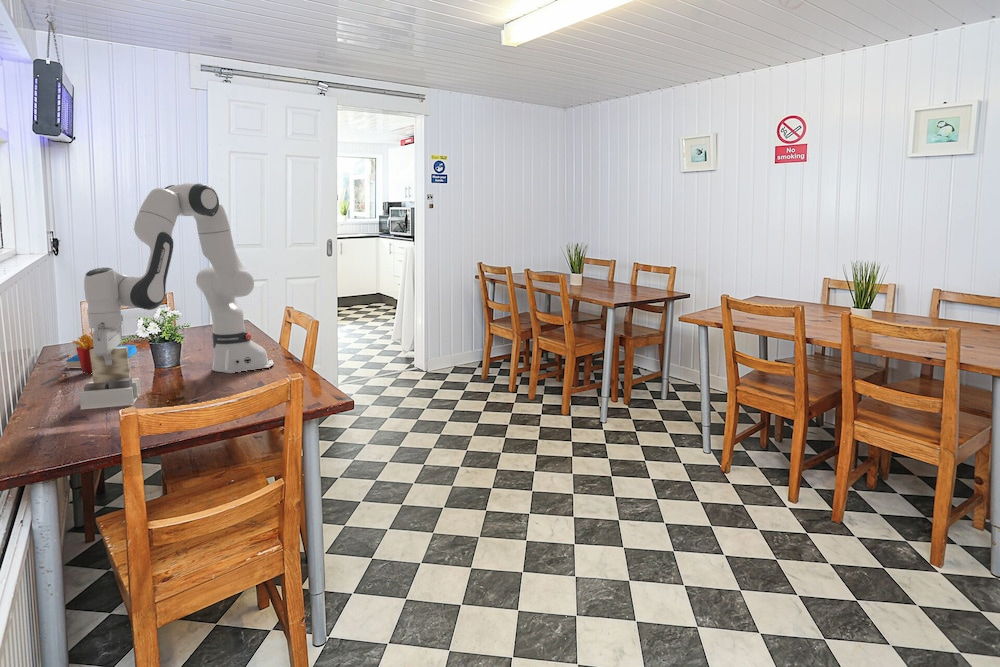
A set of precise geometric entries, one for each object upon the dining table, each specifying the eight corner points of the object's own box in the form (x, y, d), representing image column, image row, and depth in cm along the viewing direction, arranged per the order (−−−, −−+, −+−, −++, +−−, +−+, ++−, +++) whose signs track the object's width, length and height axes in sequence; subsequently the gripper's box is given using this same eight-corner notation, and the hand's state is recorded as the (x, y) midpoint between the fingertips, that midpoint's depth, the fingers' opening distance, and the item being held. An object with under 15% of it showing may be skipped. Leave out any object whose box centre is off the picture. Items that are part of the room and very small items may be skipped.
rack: (141, 396, 205) (139, 377, 204) (133, 409, 192) (131, 389, 191) (92, 400, 201) (89, 381, 199) (80, 414, 188) (77, 393, 186)
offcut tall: (134, 398, 198) (131, 377, 197) (131, 402, 195) (129, 380, 193) (113, 400, 196) (111, 378, 195) (110, 403, 193) (108, 382, 191)
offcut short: (110, 400, 196) (107, 382, 195) (107, 404, 192) (104, 385, 191) (89, 402, 194) (87, 383, 193) (86, 406, 191) (83, 387, 189)
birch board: (132, 394, 202) (127, 346, 199) (131, 396, 200) (126, 347, 197) (97, 398, 199) (90, 349, 196) (95, 399, 197) (89, 350, 194)
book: (65, 360, 239) (91, 345, 263) (67, 371, 240) (92, 355, 263) (115, 358, 243) (136, 343, 266) (116, 368, 244) (137, 353, 267)
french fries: (107, 371, 236) (102, 333, 233) (83, 376, 229) (77, 336, 226) (95, 368, 241) (90, 330, 238) (71, 373, 234) (66, 334, 231)
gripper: (109, 325, 186) (114, 370, 189) (123, 314, 205) (128, 355, 208) (84, 327, 184) (90, 372, 187) (101, 315, 203) (106, 357, 206)
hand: (110, 363), depth 197 cm, fingers closed on birch board, 2 cm apart
